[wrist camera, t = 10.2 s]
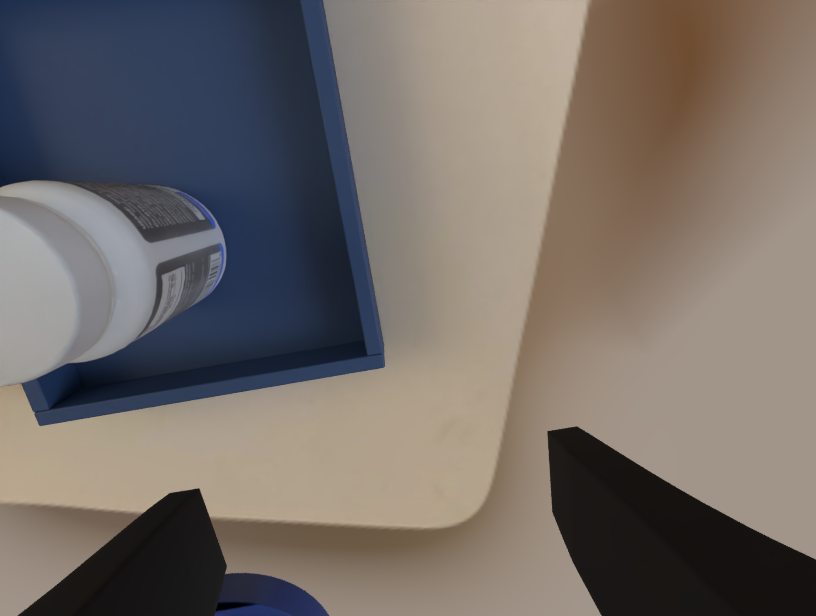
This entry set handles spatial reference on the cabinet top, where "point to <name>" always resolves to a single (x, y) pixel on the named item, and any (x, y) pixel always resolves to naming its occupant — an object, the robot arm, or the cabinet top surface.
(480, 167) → the cabinet top surface
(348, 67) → the cabinet top surface
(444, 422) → the cabinet top surface
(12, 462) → the cabinet top surface
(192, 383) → the blue tray
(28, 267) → the pill bottle
